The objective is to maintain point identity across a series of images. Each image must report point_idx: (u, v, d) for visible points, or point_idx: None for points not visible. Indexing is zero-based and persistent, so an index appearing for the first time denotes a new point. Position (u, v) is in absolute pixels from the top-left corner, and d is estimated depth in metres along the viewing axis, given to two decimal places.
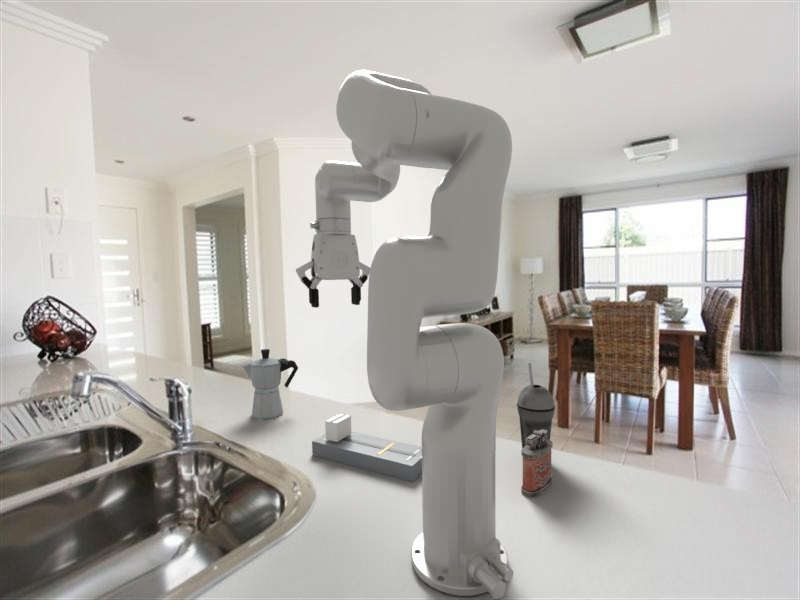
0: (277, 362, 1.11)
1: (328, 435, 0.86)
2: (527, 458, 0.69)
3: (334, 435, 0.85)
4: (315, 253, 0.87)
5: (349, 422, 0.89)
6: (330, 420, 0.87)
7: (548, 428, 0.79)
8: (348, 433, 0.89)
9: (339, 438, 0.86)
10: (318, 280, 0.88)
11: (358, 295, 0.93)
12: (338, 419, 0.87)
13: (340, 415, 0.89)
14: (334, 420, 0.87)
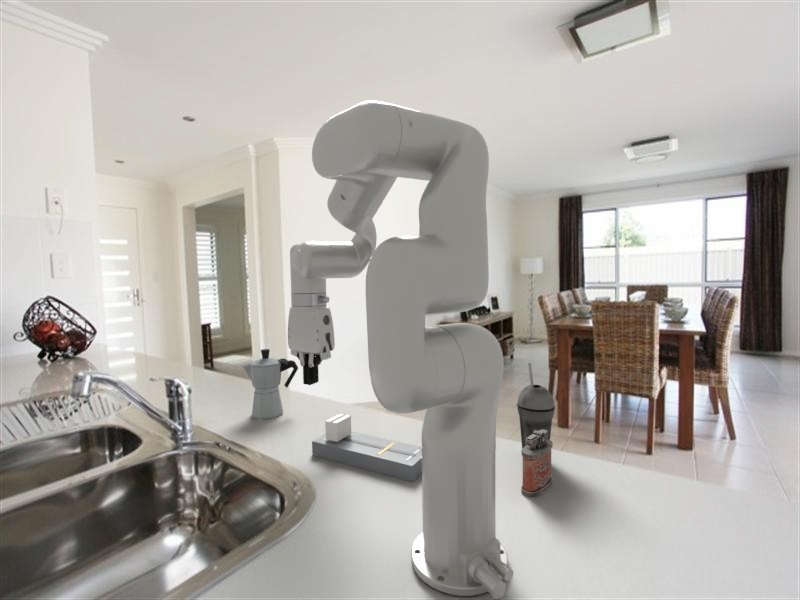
0: (277, 362, 1.11)
1: (328, 435, 0.86)
2: (527, 458, 0.69)
3: (334, 435, 0.85)
4: (331, 326, 0.89)
5: (349, 422, 0.89)
6: (330, 420, 0.87)
7: (548, 428, 0.79)
8: (348, 433, 0.89)
9: (339, 438, 0.86)
10: None
11: None
12: (338, 419, 0.87)
13: (340, 415, 0.89)
14: (334, 420, 0.87)
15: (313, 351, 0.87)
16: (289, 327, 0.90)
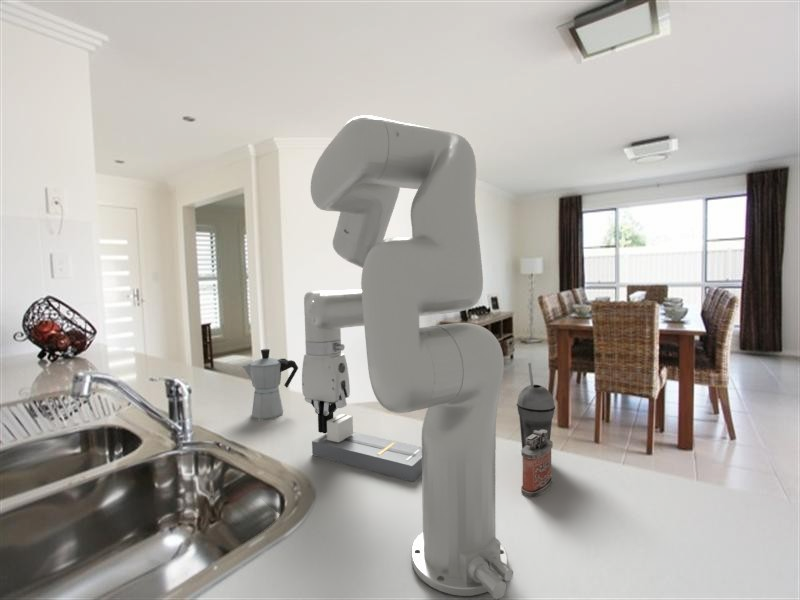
0: (277, 362, 1.11)
1: (330, 436, 0.86)
2: (527, 458, 0.69)
3: (335, 436, 0.85)
4: (347, 373, 0.88)
5: (351, 422, 0.89)
6: (332, 420, 0.86)
7: (548, 428, 0.79)
8: (350, 433, 0.88)
9: (341, 438, 0.86)
10: None
11: None
12: (340, 419, 0.87)
13: (342, 415, 0.89)
14: (336, 420, 0.86)
15: (328, 400, 0.86)
16: (303, 374, 0.89)
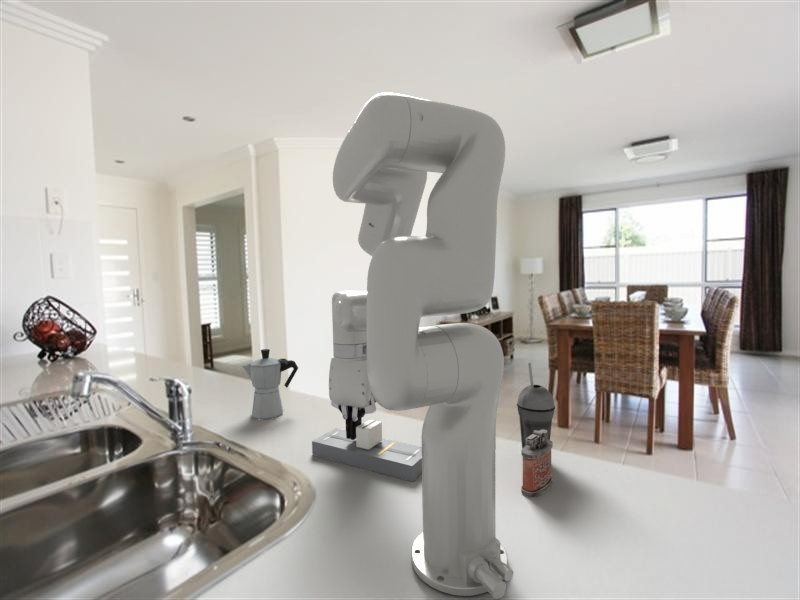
0: (277, 362, 1.11)
1: (359, 442, 0.82)
2: (527, 458, 0.69)
3: (365, 442, 0.82)
4: None
5: (380, 428, 0.85)
6: (361, 426, 0.83)
7: (548, 428, 0.79)
8: (379, 440, 0.85)
9: (371, 445, 0.82)
10: None
11: None
12: (369, 425, 0.83)
13: (370, 421, 0.86)
14: (365, 426, 0.83)
15: (358, 405, 0.82)
16: (330, 378, 0.85)
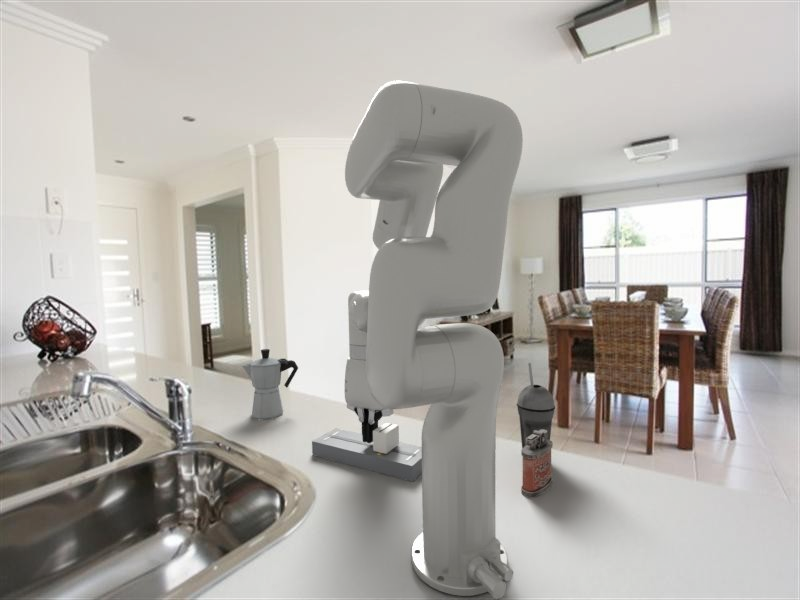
0: (277, 362, 1.11)
1: (376, 446, 0.80)
2: (527, 458, 0.69)
3: (382, 446, 0.80)
4: None
5: (397, 431, 0.83)
6: (378, 430, 0.81)
7: (548, 428, 0.79)
8: (396, 444, 0.83)
9: (388, 449, 0.80)
10: None
11: None
12: (386, 429, 0.81)
13: (387, 424, 0.84)
14: (382, 430, 0.81)
15: (375, 407, 0.80)
16: (346, 380, 0.83)
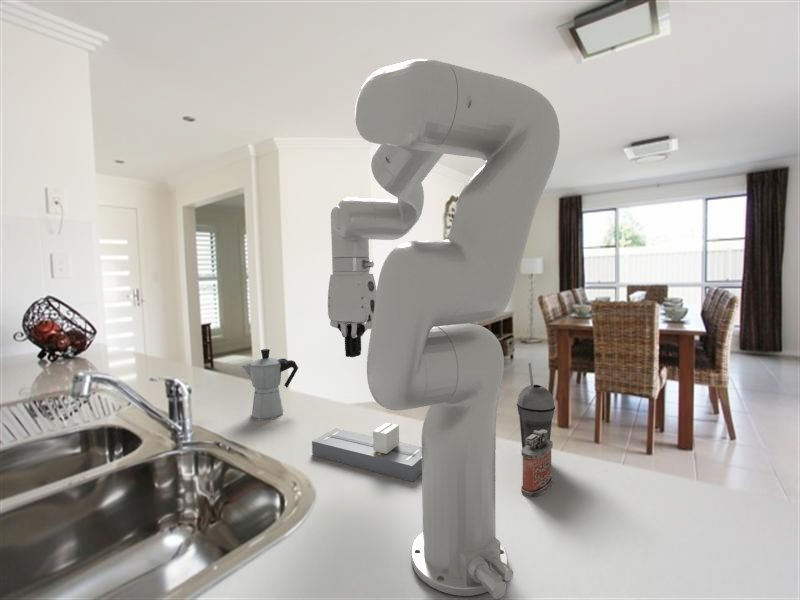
0: (277, 362, 1.11)
1: (376, 446, 0.80)
2: (527, 458, 0.69)
3: (383, 446, 0.80)
4: (376, 294, 0.83)
5: (397, 432, 0.83)
6: (378, 430, 0.81)
7: (548, 428, 0.79)
8: (396, 444, 0.83)
9: (388, 449, 0.80)
10: None
11: None
12: (386, 429, 0.81)
13: (387, 424, 0.84)
14: (382, 430, 0.81)
15: (357, 320, 0.81)
16: (329, 296, 0.84)
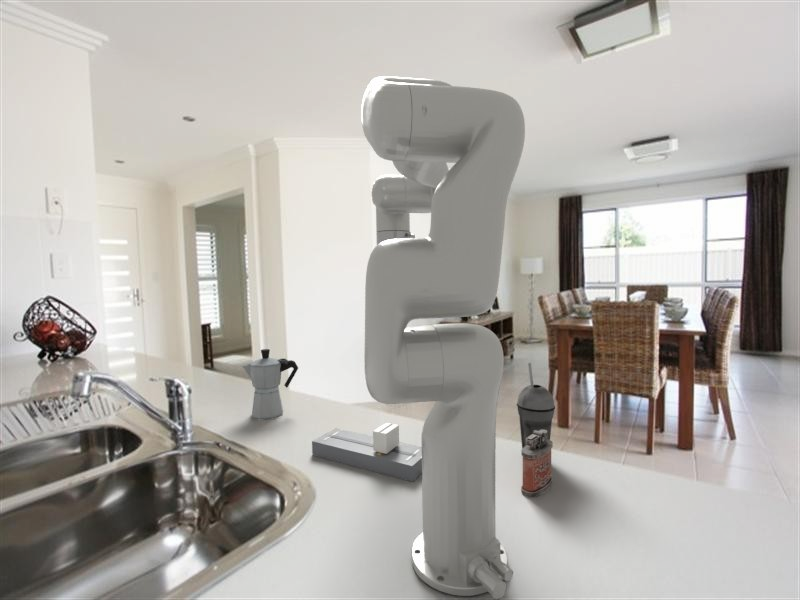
0: (277, 362, 1.11)
1: (376, 446, 0.80)
2: (527, 458, 0.69)
3: (383, 446, 0.80)
4: None
5: (397, 432, 0.83)
6: (378, 430, 0.81)
7: (548, 428, 0.79)
8: (396, 444, 0.83)
9: (388, 449, 0.80)
10: None
11: None
12: (386, 429, 0.81)
13: (387, 424, 0.84)
14: (382, 430, 0.81)
15: None
16: None
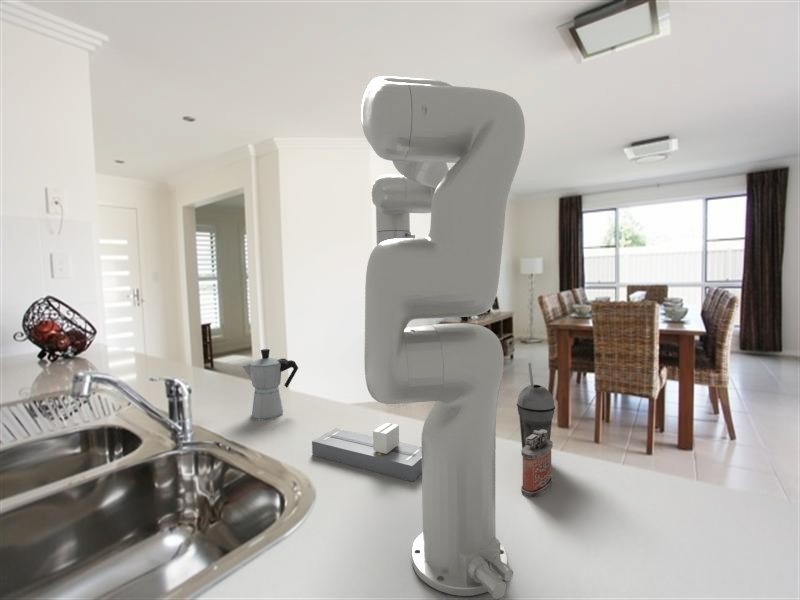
0: (277, 362, 1.11)
1: (376, 446, 0.80)
2: (527, 458, 0.69)
3: (383, 446, 0.80)
4: None
5: (397, 432, 0.83)
6: (378, 430, 0.81)
7: (548, 428, 0.79)
8: (396, 444, 0.83)
9: (388, 449, 0.80)
10: None
11: None
12: (386, 429, 0.81)
13: (387, 424, 0.84)
14: (382, 430, 0.81)
15: None
16: None
